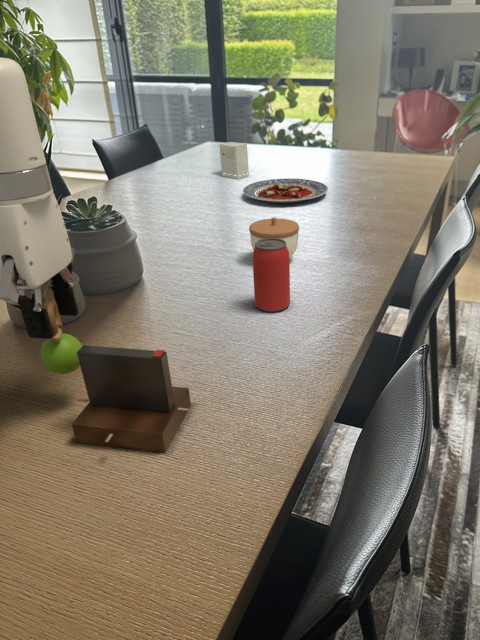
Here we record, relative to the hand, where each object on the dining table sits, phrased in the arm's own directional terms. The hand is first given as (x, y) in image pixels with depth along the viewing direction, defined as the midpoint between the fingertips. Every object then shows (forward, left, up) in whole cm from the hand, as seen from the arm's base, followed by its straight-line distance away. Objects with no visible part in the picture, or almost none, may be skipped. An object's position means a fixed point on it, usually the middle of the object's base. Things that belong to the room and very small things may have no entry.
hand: (54, 324), depth 72 cm
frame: (+11, -4, -9) cm, 15 cm away
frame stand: (+11, -4, -12) cm, 17 cm away
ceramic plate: (+11, +110, -12) cm, 111 cm away
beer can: (+22, +34, -12) cm, 42 cm away
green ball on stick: (0, 0, -7) cm, 7 cm away
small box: (-11, +134, -12) cm, 135 cm away
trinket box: (+18, +57, -12) cm, 61 cm away
